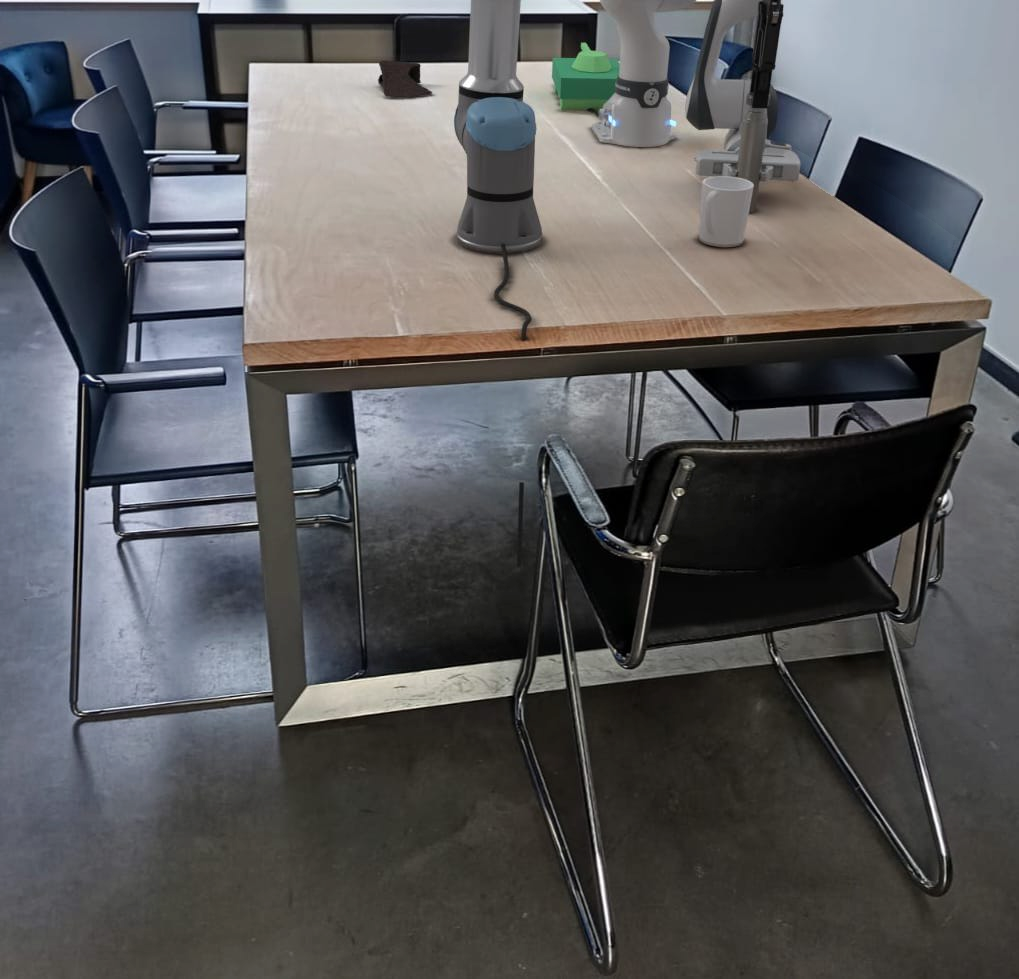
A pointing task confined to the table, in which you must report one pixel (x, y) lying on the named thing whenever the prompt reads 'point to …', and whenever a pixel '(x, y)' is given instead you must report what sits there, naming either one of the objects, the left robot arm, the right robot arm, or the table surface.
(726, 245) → the mug
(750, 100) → the cap
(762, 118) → the bottle
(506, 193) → the left robot arm
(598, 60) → the toy tank
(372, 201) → the table surface
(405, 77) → the axe head
